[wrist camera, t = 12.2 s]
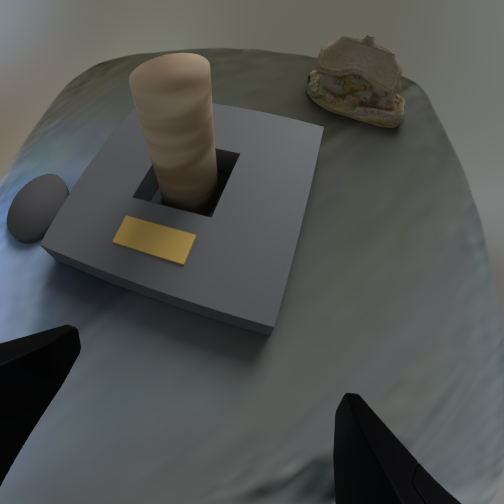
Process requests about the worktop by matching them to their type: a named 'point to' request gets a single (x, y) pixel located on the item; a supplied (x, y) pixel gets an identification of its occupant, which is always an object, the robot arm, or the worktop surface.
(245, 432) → the worktop surface
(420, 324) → the worktop surface
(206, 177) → the beech peg
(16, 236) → the pad
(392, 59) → the ceramic model
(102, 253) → the hole plate
